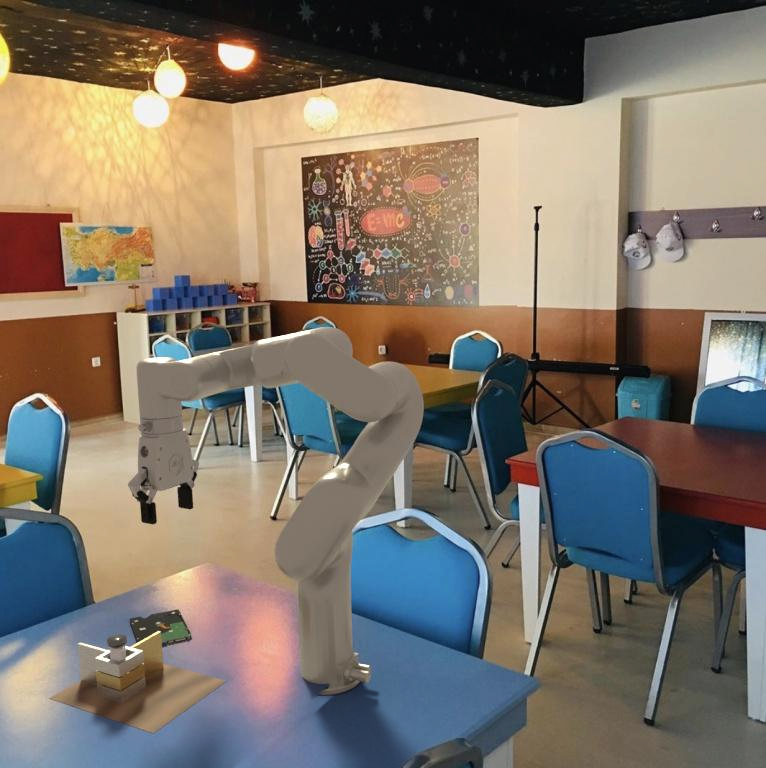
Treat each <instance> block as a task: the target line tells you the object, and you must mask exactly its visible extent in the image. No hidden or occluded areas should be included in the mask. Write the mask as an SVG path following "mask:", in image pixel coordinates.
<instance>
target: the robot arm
mask: <svg viewBox="0 0 766 768" xmlns="http://www.w3.org/2000/svg"><path fill="white" fill-rule="evenodd" d="M353 352H354V350H353V343H352V342H351V339H350V338H349V336H348V335H347V333H345V332H344V331H343V330H341V329H340V328H337V327H333V326H321V327H317V328H311V329H307V330H303V331H298V332H293V333H288V334H284V335H280V336H274V337H270V338H265V339H260V340H257V341H255V342H254V343H253V344H249V345H248V344H247V345H246V346H241V347H240V346H239V347H235V348H231V349H226V350H221V351H215V352H211V353H207V354H201V355H197V356H193V357H190V358H184V359H180V360H177V359H175V358H173V357H166V356H165V357H164V356H160V357H158V356H157V357H155V356H154V357H148V358H143V359H141V360H140V361H138V363H137V365H136V380H137V381H136V382H137V383H136V384H137V395H138V410H139V422H140V424H138V430H139V432H140V435H139V440H138V446H137V447H138V448H137V449H138V450H137V453H138V454H137V473H136V474H135V476H134V477H132V478H131V480H130V481H128V483H127V486H128V488H129V491H130V492H131V493H132V494H131V495H132V497H133V498H135V499H136V501H137V502H138V503H139V506H140V521H141V523H143V524H149V525H156V524H157V523H158V522H157V521H158V519H157V506H156V505H157V504H156V502H155V501H154V499H155V497H156V494H157V492H158V491H159V492H163V491H167V490H169V489H173V488H175V487H177V491H176V492H177V503H178V505H177V506H178V508H179V509H185V510H186V509H187V510H192V509H194V497H193V488H194V487H195V481H196V478H197V477H198V473H197V472H198V469H199V467H200V461H198V460H196V459H193V455H192V449H191V444H190V438H189V434H188V432H187V429H186V428H184V421H183V405H182V404H183V403H182V402H185V403H188V402H189V403H191V402H195V401H199V400H202V399H205V398H208V397H210V396H214V395H217V394H220V393H223V392H228V391H234V390H237V389H243V388H248V387H254V386H262V387H263V388H265V389H274V388H278V387H283V386H290V385H294V384H301V385H302V386H303V387H305V388H306V389H307V390H309V391H311V392H312V393H313V394H314V395H316V396H317V397H320V398H321V399H322V400H324V401H325V402H327V403H328V404H330V405H332V407H335V408H336V409H338V410H340V412H342V413H344V414H346V415H347V416H349V417H350V418H351V419H354V420H357V421H360V422H364V423H367V424H366V425H365V427H364V428H363V429H362V430H361V432H360V433H359V435H358V436H357V438H356V440H355V441H354V443H353V445H352V446H351V447H350V449H349V450H348V451H347V453H346V455H345V456H344V457H343V459H342V460H341V461H340V462H339V463H338V464H337V465H336V466H334V467H333V468H331V469H330V470H329V471H327V472H326V473H325V474H324V475H322V476H321V477H319V479H317V480H316V481H315V482H314V483H313V484H312V486H311V487H310V488H309V489H308V490H307V491H306V493H305V494H304V497H303V498H302V500H301V501H300V503H299V504H298V505H297V507H296V508H295V510H294V512H293V513H292V515H291V516H290V518H289V519H288V520H287V522H286V524H284V527H283V528H282V530H281V531H280V532H279V535H278V536H277V538H276V541H275V544H274V545H275V546H274V559H275V562H276V565H277V567H278V568H279V570H280V571H281V572H282V574H283V575H284V576H285V577H288V578H289V579H291V580H294V581H296V590H297V591H296V593H297V594H296V595H297V596H296V597H297V601H296V602H297V620H298V621H297V622H298V641H299V644H298V645H299V664H300V675H301V677H302V679H304V680H306V681H307V682H310V683H312V684H318V685H327V686H326V687H325V688H324V689H322V690H321V691H320V692H319V693H317V696H329V695H337V694H342V693H345V692H347V691H349V690H350V691H351V690H352V689H353V688H355V687H356V686H358V684H360V682H361V683H365V684H368V683H369V682H370V680H371V677H372V674H371V671H372V666H371V665H369V664H365V663H361V662H360V661H359V652H354V647H353V646H354V645H353V644H354V643H353V621H352V620H353V619H352V617H353V616H352V573H351V572H352V556H353V547H354V534H353V533H354V532H353V530H354V528H355V527H356V526H357V525H358V523H359V522H360V521H361V520H362V519H363V518H364V517H366V515H368V514H369V512H370V511H371V510H372V509H373V508H374V506H375V504H376V502H377V501H378V499H379V497H381V494H382V493H383V491H384V489H385V488H386V486H387V485H388V483H389V482H390V480H391V479H392V478H393V476H394V474H395V473H396V471H397V470H398V468H399V467H400V466H401V463H402V462H403V460H404V459H405V458H406V456H407V455H408V453H409V451H410V449H411V448H412V446H413V445H414V442H415V441H416V439H417V436H418V435H419V432H420V430H421V426H422V423H423V417H424V409H425V408H424V407H425V406H424V405H425V403H424V396H423V392H422V390H421V386H420V384H419V382H418V380H417V378H416V376H415V375H414V373H413V372H412V371H411V370H410V369H409V368H408V367H407V366H405V365H404V364H403V363H399V362H397V361H381V362H378V363H377V362H376V363H375V364H372V365H371V366H368V365H366V364H363V363H362V362H361V361H359V360H357V359H356V358H354V357H353V354H354V353H353ZM148 491H149V492H148Z"/></svg>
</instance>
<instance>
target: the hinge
mask: <svg viewBox="0 0 766 768" xmlns="http://www.w3.org/2000/svg"><path fill="white" fill-rule="evenodd" d="M125 647H126V658H125V659H123V660H121V661H120V662H117V661H114V660H110V649H105V648H101V647H98V646H94V645H91V644H87V643H83V642H79V643H77V650H78V651H77V652H78V663H79V675H80V680H81V681H84V682H87V683H90V684H93V685H96V686H97V689H98V696H99V697H102V698H105V699H108V700H111V701H114V702H117V703H121V704H122V703H124V702H126V701H127V700H129V699H130V698H132V697H133V696H135V695H136V694H138V693H140V692H141V691H143V690H144V689H146V683H145V679H146V678H148V677H149V676H151V675H153V674H154V673H156V672H157V671H159V670H161V669H162V668H164V667H163V663H164V657H163V656H164V653H163V646H162V639H161V632H160V631H158V632H156V633H154V634H152V635H151V636H149V637H147V638H145V639H144V640H142V641H140V642H138V643H137V642H136V643H134V644H133V645H131V646H127V645H125Z"/></svg>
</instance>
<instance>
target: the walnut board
mask: <svg viewBox="0 0 766 768" xmlns="http://www.w3.org/2000/svg"><path fill="white" fill-rule="evenodd" d="M163 667H164V668H162V669H161V670H159V671H157V672H156V673H154V674H153V675H151V676H149V677H148V678H146V679H145V683H146V689H144V690H143V691H141V692H140V693H138V694H136V695H135V696H133V697H132V698H130V699H129V700H127V701H126V702H124V703H122V704H121V703H117V702H114V701H111V700H108V699H105V698H102V697H99V696H98V689H97V686H96V685H93V684H90V683H87V682H84V681H81V679H80V680H78V681H77V682H75V683H73V684H71V685H69V686H68V687H66V688H65V689H62V690H61V691H60V692H58V693H56V694H54V695H52V696H51V697H49V699H50V700H52V701H55V702H59V703H62V704H65V705H68V706H70V707H73V708H76V709H79V710H83V711H85V712H89V713H91V714H94V715H97V716H100V717H103V718H105V719H108V720H112V721H114V722H115V721H116V722H119V723H121V724H124V725H126V726H131V727H133V728H136V729H138V730H142V731H145V732H148V733H150V734H156V732H158V731H159V730H161V729H162V728H163V727H165V726H166V725H168V724H169V723H171V722H172V721H173V720H174V719H176V718H177V717H179V716H180V715H181V714H183V713H184V712H186V711H187V710H189V709H190V708H192V707H193V706H194V705H196V704H197V703H198V702H200V701H201V700H202V699H204V698H206V697H207V696H208V695H210V694H211V693H212V692H214V691H216V690H217V689H218V688H219V687H221V686H222V685H224V684H225V683H226V682H228V681H227V680H225V679H224V680H223V679H220V678H217V677H213V676H210V675H206V674H203V673H198V672H195V671H192V670H188V669H185V668H181V667H178V666H173V665H171V664H168V663H164V662H163Z"/></svg>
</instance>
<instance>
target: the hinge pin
mask: <svg viewBox="0 0 766 768" xmlns="http://www.w3.org/2000/svg"><path fill="white" fill-rule="evenodd" d="M127 641H128V637H127V635H125V634H119V633H118V634H114V635H111V636H109V637H108V638H106V643H107V644H106V645H107V647H109V648H108V649H109V650H110V660H114V661H117V662H120V661H121V660H123V659H125V658H126V647H125V646H126V644H127Z"/></svg>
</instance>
